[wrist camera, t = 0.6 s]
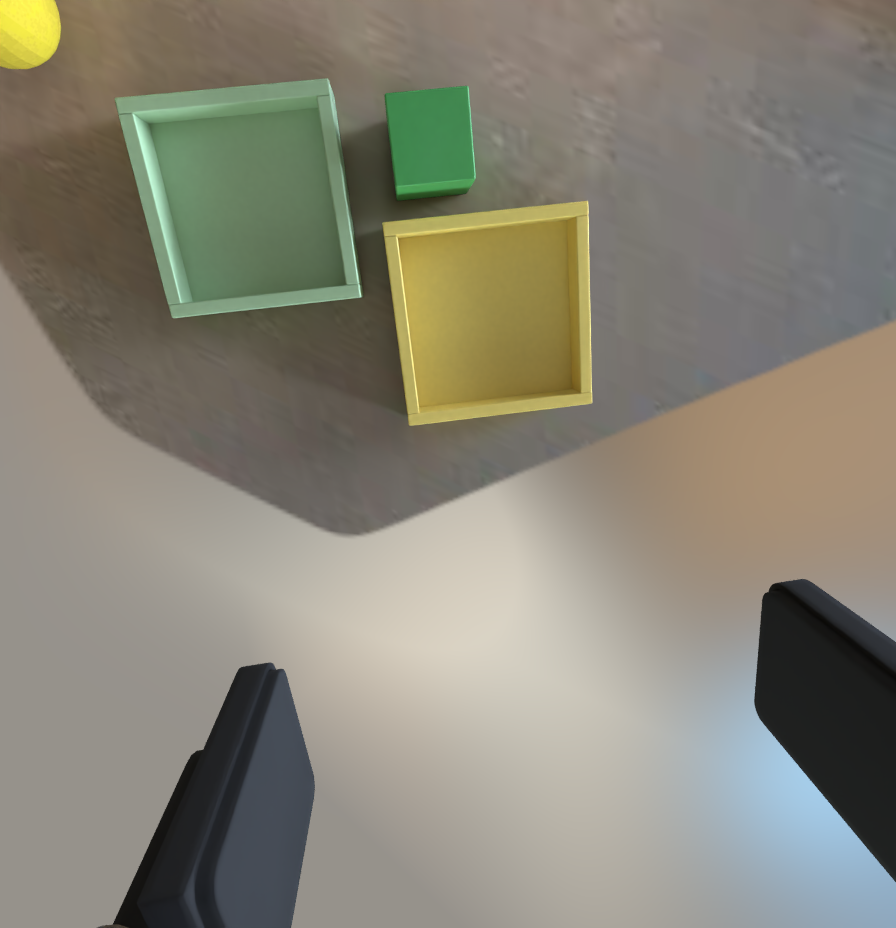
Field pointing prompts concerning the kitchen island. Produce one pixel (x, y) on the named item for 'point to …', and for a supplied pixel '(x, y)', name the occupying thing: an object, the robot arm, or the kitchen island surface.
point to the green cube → (430, 142)
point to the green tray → (244, 195)
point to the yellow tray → (492, 311)
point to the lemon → (28, 32)
